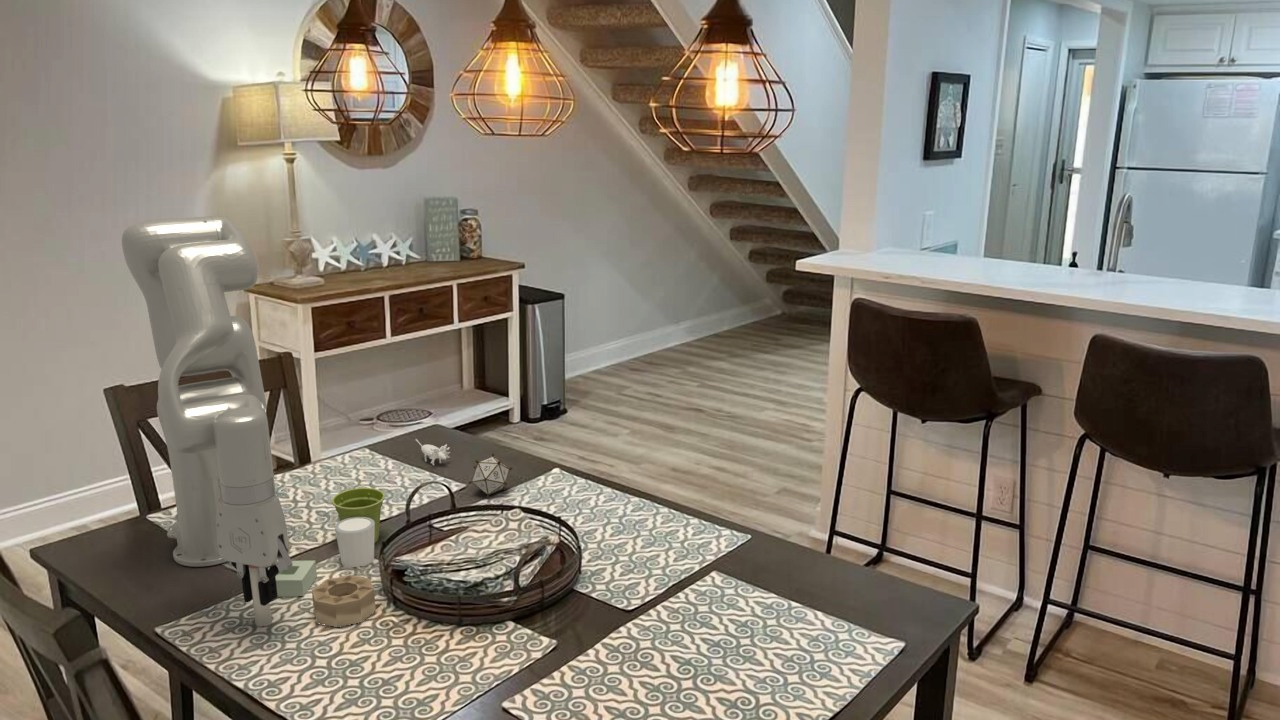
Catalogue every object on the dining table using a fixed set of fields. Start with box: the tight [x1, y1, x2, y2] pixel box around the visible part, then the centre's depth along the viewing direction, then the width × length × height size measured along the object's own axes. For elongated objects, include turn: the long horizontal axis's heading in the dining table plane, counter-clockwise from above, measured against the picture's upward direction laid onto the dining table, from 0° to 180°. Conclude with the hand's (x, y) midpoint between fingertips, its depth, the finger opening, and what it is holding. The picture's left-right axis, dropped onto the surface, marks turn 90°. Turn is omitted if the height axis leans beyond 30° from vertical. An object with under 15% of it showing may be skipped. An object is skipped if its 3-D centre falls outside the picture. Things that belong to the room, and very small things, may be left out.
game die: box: [467, 452, 514, 500], centre depth 200 cm, size 9×8×10 cm
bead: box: [311, 574, 377, 628], centre depth 153 cm, size 9×9×4 cm
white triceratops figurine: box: [415, 438, 451, 466], centre depth 218 cm, size 12×5×5 cm, turn 43°
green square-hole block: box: [268, 560, 318, 598], centre depth 162 cm, size 7×7×3 cm
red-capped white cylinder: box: [249, 565, 273, 628], centre depth 149 cm, size 2×2×12 cm
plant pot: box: [331, 487, 386, 544], centre depth 178 cm, size 9×9×9 cm
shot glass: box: [333, 517, 375, 568], centre depth 171 cm, size 7×7×7 cm
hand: (261, 598), depth 150 cm, fingers closed on red-capped white cylinder, 2 cm apart
